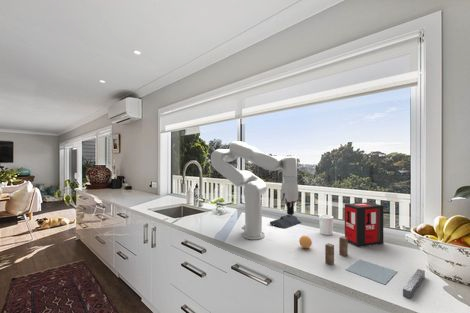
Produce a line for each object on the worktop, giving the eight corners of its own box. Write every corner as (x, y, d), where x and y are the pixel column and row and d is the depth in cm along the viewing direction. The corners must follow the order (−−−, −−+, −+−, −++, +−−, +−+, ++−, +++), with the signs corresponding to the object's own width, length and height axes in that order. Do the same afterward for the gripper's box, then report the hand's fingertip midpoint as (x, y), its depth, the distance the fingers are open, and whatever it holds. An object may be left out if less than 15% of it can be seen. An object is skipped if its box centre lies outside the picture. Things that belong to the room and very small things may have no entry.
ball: (296, 247, 115) (296, 235, 115) (303, 244, 119) (303, 233, 119) (307, 251, 110) (307, 239, 110) (314, 248, 114) (314, 236, 114)
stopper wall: (403, 296, 75) (403, 288, 75) (418, 275, 88) (418, 268, 88) (410, 299, 74) (410, 291, 74) (424, 277, 87) (424, 270, 86)
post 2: (339, 254, 107) (339, 237, 107) (341, 253, 108) (341, 236, 108) (345, 256, 105) (345, 239, 105) (347, 254, 106) (347, 237, 106)
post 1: (325, 263, 98) (325, 244, 98) (328, 261, 100) (328, 243, 100) (331, 265, 96) (331, 246, 96) (334, 263, 98) (334, 244, 98)
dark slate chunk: (266, 224, 154) (266, 217, 154) (284, 218, 169) (284, 212, 169) (285, 230, 143) (285, 222, 143) (303, 223, 158) (303, 216, 158)
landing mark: (345, 269, 92) (345, 269, 92) (359, 259, 101) (359, 259, 101) (385, 284, 82) (385, 284, 82) (397, 271, 91) (397, 271, 91)
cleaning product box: (369, 237, 128) (369, 202, 128) (383, 243, 119) (383, 205, 119) (344, 240, 124) (344, 204, 124) (357, 247, 115) (357, 207, 115)
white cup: (316, 232, 138) (316, 215, 138) (326, 230, 141) (326, 214, 141) (325, 236, 131) (325, 218, 130) (336, 234, 133) (336, 217, 133)
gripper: (292, 178, 129) (293, 210, 129) (275, 180, 120) (275, 215, 120) (304, 179, 123) (304, 212, 123) (286, 181, 114) (287, 218, 114)
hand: (290, 214), depth 122 cm, fingers closed
